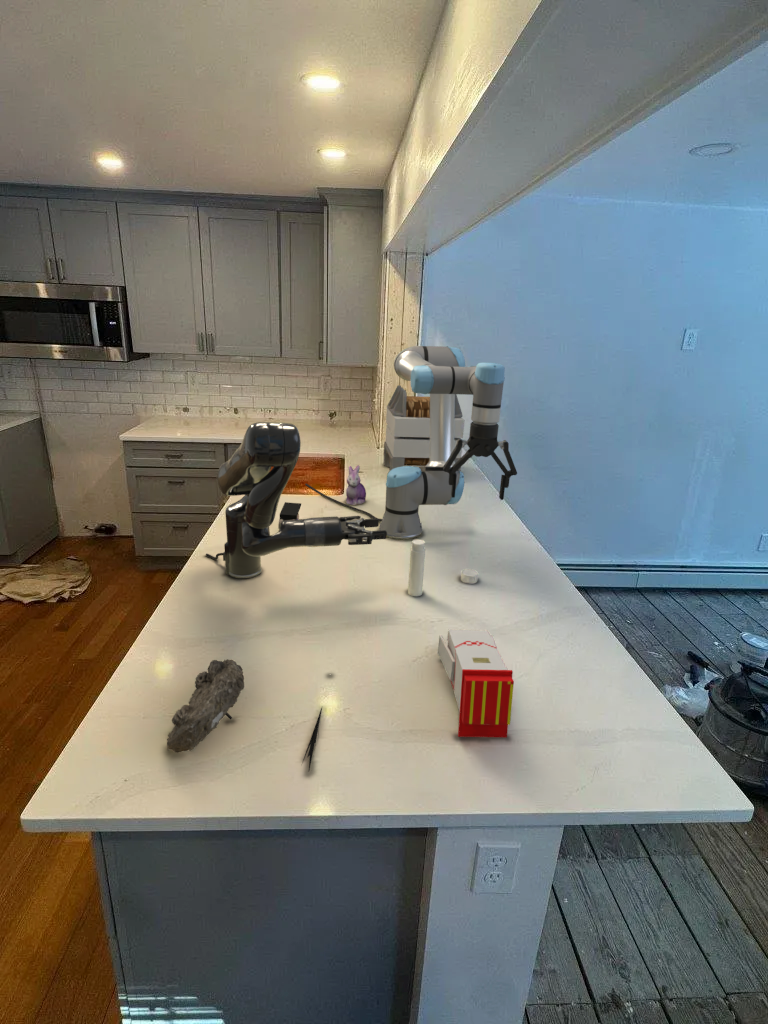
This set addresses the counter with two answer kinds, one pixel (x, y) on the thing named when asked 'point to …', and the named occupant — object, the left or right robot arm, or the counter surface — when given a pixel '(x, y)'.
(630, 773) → the counter surface
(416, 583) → the white long cylinder
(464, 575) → the lid
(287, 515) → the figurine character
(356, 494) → the figurine
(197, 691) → the fossil
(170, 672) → the counter surface
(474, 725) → the toy
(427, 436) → the white slatted crate
